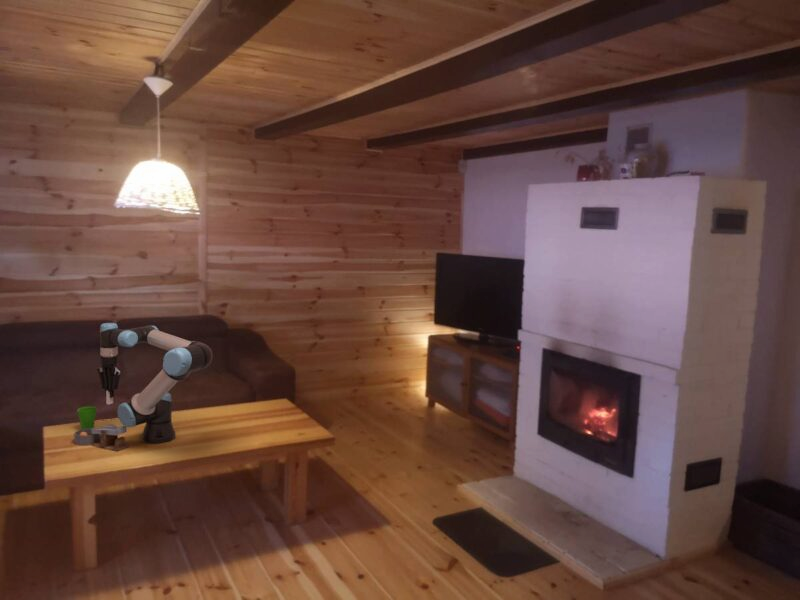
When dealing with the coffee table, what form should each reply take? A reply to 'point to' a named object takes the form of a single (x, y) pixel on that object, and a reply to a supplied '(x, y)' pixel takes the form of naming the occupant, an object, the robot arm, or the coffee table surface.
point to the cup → (87, 417)
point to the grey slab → (110, 430)
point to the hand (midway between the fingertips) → (109, 403)
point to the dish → (86, 437)
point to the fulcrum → (111, 442)
